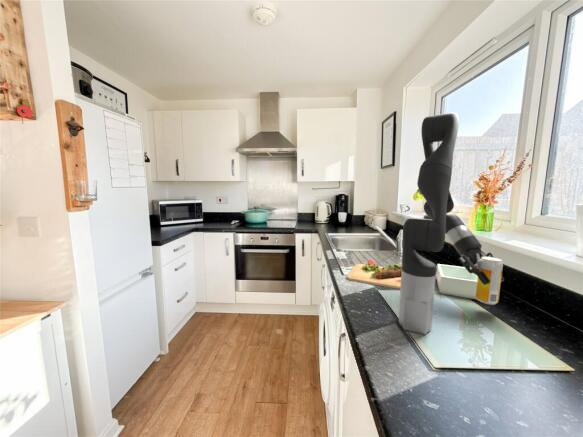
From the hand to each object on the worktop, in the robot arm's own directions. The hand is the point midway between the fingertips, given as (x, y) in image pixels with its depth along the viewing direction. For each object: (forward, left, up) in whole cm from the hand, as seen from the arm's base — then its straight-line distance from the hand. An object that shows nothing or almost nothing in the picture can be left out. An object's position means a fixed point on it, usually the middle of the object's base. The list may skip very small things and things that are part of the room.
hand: (494, 282), depth 81 cm
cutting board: (+20, +34, -12) cm, 41 cm away
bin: (+20, +7, -11) cm, 24 cm away
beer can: (+1, +1, -8) cm, 8 cm away
